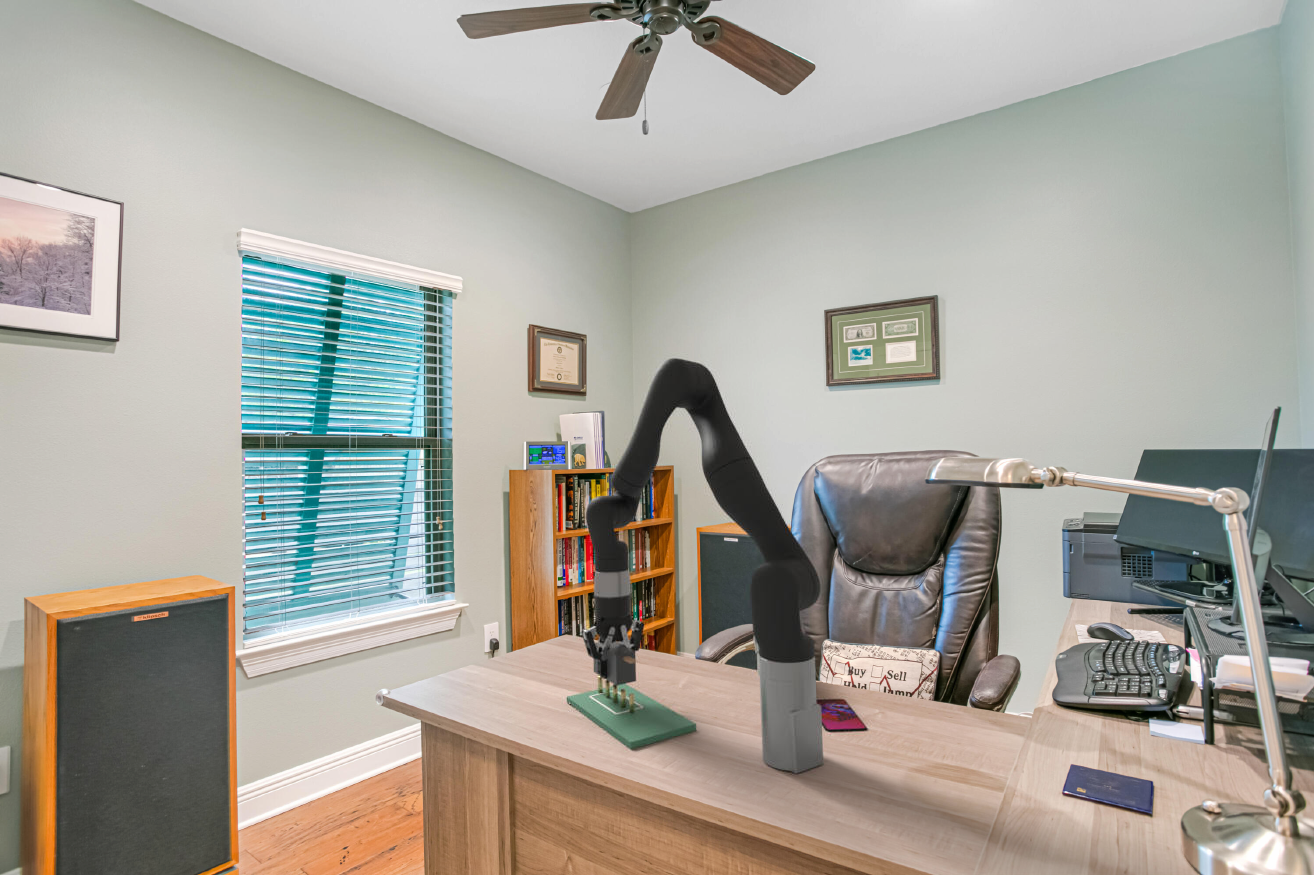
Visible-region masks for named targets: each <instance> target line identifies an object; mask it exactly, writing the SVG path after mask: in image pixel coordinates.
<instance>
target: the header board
mask: <svg viewBox="0 0 1314 875" xmlns="http://www.w3.org/2000/svg"><path fill="white" fill-rule="evenodd" d="M621 689H626V708H621ZM629 694H634V706H635V713H630V709H629ZM567 702H568V703H570V704H571V705H572V706H573V707H572V706H571V705H570V704H569V705H570V706H571V707H572V708H574V707H575V708H576V709H577V710H576V709H575V708H574V709H575V710H576V711H578V710H579V711H580V712H581V713H580V712H579V711H578V712H579V713H580V714H582V715H583V714H584V715H583V716H585V717H586V718H587V719H588V720H590V721H591V720H592V721H591V722H593V723H594V724H596V725H597V726H598V725H599V726H598V727H599V728H601V729H602V728H603V729H602V730H604V731H605V730H606V731H607V733H608V734H609V735H611V736H612V737H613V738H615V739H616V740H618V741H619V742H620V743H621V744H623V745H624V746H626V748H628V749H630V750H633V749H635V748H639V747H642V746H647V745H650V744H653V743H657V742H658V743H659V742H661V741H664V740H666V739H670V738H674V737H678V736H681V735H685V734H689V733H693V732H696V731H697V723H696V722H694V721H692V720H691V719H688V718H687V717H686V716H684V715H681V714H680V713H677V712H676V711H675V710H672V709H671V708H669V707H668V706H665V705H664V704H662V703H660V702H659V701H656V700H655V699H653V698H651V697H649V696H648V695H646V694H645V693H643V692H640V691H639V690H637V689H635V688H633V687H632V686H630V685H628V683H626V684H621V685H618V703H613V685H612V686H611V685H610V698H606V697H605V687H603V693H598V689H595V690H590V691H586V692H581V693H576V694H572V695H569V696H568V695H567V696H566V703H567ZM568 703H567V704H568ZM606 731H605V732H606Z"/></svg>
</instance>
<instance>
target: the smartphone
mask: <svg viewBox="0 0 1314 875" xmlns="http://www.w3.org/2000/svg"><path fill="white" fill-rule="evenodd" d="M816 703H817V704H819V705H820V706H821V716H822V728H823V729H824V730H825V731H826V732H829V733H835V732H836V733H838V732H840V733H843V732H844V733H845V732H864V731H867V726H866V725H865V723H864V722H863V721H862V720H861V718H860V717H859V716H858V714H857V713H856V712H855V711H854V709H853V708H852V707H851V706H850V705H849V703H848V702H847V700H846V699H844V698H828V699H827V698H824V699H818V698H816Z"/></svg>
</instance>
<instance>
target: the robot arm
mask: <svg viewBox="0 0 1314 875" xmlns="http://www.w3.org/2000/svg"><path fill="white" fill-rule="evenodd" d="M677 408H679V409H684V410H685V411H686V412H687V413H688V415H689V416H690V418H691V419H692V421H693V424H694V425H695V427H696V429H697V431H698V433H699V437H700V440H701V467H702V472H703V475H704V477H705V480H706V482H707V484H708V486H709V489H710V491H711V492H712V495H713V496H714V498H715V501H716V503H717V504H718V505H719V506H720V508H721V509H722V511H723V512H724V513H725V514H726V515H727V516H728V517H729V518H730V519H731V520H732V521H733V522H734V523H735V524H736V525H737V526H739V528H741V530H743V531H744V532H745V533H746V534H747V536H749V538H751V540H752V541H753V542H754V544H755V545H756V546H757V549H758V550H759V552H760V553H761V556H762V558H763V560H764V562H762V563H761V564H759V565H758V566H757V567H756V568H755V569H754V571H753V573H752V575H751V579H750V584H749V585H750V586H749V593H750V594H749V596H750V608H751V609H750V610H751V620H752V632H753V636H755V639H756V641H757V644H758V647H759V669H760V677H759V690H760V694H759V696H760V717H761V718H760V719H761V721H760V722H761V723H760V724H761V725H760V727H761V742H762V743H761V745H762V746H761V747H762V750H761V752H762V759H763V761H764V763H765V764H766V765H768V766H769V767H772V768H773V769H774V768H775V769H778V770H782V771H787V772H791V773H794V774H799V773H802V772H805V771H807V770H811V769H813V768H816V767H819V766H821V765H823V764H824V748H823V747H824V746H823V744H824V743H823V726H822V716H821V706H820V705H819V704H817V703H816V700H817V684H816V682H817V680H816V679H817V678H816V656H815V655H816V653H815V642H814V638H812V636H810V635H808V634H807V633H804V632H803V630H802V627H801V626H802V625H801V614H800V612H802V611H803V610H806V609H809V608H810V607H812V606H814V605H815V604H816V603H817V601H818V600H819V598H820V594H821V580H820V577H819V574H818V572H817V570H816V568H815V566H814V564H813V563H812V561H811V560H810V558H809V556H808V555H807V553H806V552H805V551H804V549H803V548H802V546H801V545H800V543H799V542H798V540H797V538H796V536H794V534H793V532H792V531H791V529H790V528H789V526H788V524H787V523H786V521H785V519H784V517H783V514H782V513H781V511H780V509H779V507H778V506H777V504H776V502H775V500H774V498H773V497H772V494H771V493H770V491H769V489H768V488H767V485H766V483H765V481H764V479H763V477H762V475H761V473H760V471H759V469H758V467H757V465H756V463H755V462H754V459H753V458H752V455H751V454H750V453H749V451H748V449H747V448H746V446H745V443H744V442H743V440H742V438H741V435H740V434H739V432H738V430H737V427H736V426H735V424H734V423H733V420H732V419H731V416H730V415H729V413H728V410H727V407H726V404H725V403H724V399H723V397H722V395H721V392H720V389H719V386H718V384H717V382H716V379H715V378H714V375H713V374H712V372H711V371H710V370H709V369H708V368H707V366H705V365H704V364H702V363H699V362H697V361H691V360H687V359H684V358H669V359H667V360H665V361H664V362H662V363H661V364H660V365H659V366H658V368H657V369H656V371H655V373H654V376H653V378H652V380H651V382H650V385H649V388H648V391H647V393H646V397H645V400H644V403H643V406H642V408H641V411H640V414H639V416H638V419H637V421H636V422H637V423H636V425H635V427H634V430H633V432H632V436H631V437H630V440H629V442H628V444H627V446H626V448H625V451H623V454H622V455H621V457H620V459H619V461H618V463H617V465H616V466H615V468H614V470H613V472H612V475H611V478H610V483H611V485H612V487H613V489H615V491H614V493H613V494H611V495H609V494H608V495H600V496H596V497H594V498H592V499H591V500H590V501H589V503H588V505H587V508H586V511H585V522H586V526H587V529H588V534H589V536H590V540H591V545H592V547H593V550H594V579H593V580H594V581H593V587H594V588H593V592H594V617H595V619H594V622H593V626H591V627H590V628H588V629H586V628H583V629H582V630H581V637H582V639H583V642H584V646H585V648H586V649H585V650H586V652H587V655H588V657H590V658H592V659H593V658H594V659H597V667H598V668H597V669H598V674H597V676H599V675H600V677H601V678H602V680H607V679H606V678H607V660H606V658H607V650H609V649H610V647H611V643H613V642H617V643H619V644H620V645H623V646H624V647H628V648H630V649H632V650H634V651H635V652H638V651H639V650H640V646H641V643H642V642H641V641H642V637H643V633H644V628H645V623H644V622H642V621H640V620H637V619H636V620H634V619H632V614H631V613H632V596H631V595H632V594H631V590H632V589H631V576H630V566H629V565H630V563H629V562H630V561H629V547H628V544H627V543H626V542H624V541H623V540H619V539H617V536H616V532H615V529H623V528H625V527H626V526H628V525H629V524H631V522H632V521H633V520H634V518H635V517H636V514H637V511H638V509H639V505H640V501H641V498H642V494H643V490H644V488H645V487H646V485H647V483H648V481H649V479H650V478H651V477H652V475H653V473H654V471H655V469H656V466H657V464H658V461H659V458H660V452H661V440H662V436H663V435H662V434H663V430H664V428H665V426H666V423H667V422H668V420H669V418H670V417H671V415H672V414H673V413H674V412H675V410H676V409H677ZM630 629H631V633H630V638H629V635H628V634H629V632H630ZM596 634H597V635H598V641H597V642H598V649H597V648H596V645H595V643H596V642H595V640H594V639H596Z"/></svg>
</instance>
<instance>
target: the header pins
mask: <svg viewBox="0 0 1314 875" xmlns="http://www.w3.org/2000/svg"><path fill="white" fill-rule="evenodd" d="M604 684H605V685H604V687H603V678H601V677H600V675H597V690H598V693H603V688H605V697H606V698H610V687H611V682H610V681H608V680H607V679H604ZM612 686H613V703H618V685H615V684H613V683H612ZM621 708H626V689H621ZM629 709H630V713H635V706H634V694H629Z"/></svg>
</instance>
